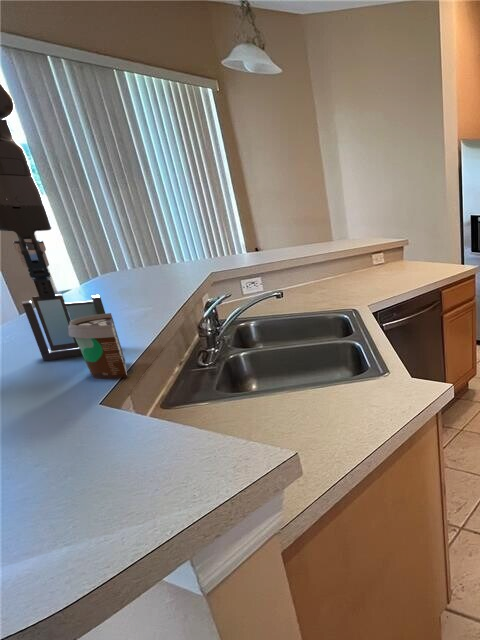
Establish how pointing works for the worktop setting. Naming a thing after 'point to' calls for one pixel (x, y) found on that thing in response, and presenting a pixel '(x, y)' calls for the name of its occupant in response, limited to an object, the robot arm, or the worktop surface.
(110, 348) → the food container
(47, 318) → the sash
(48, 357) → the window frame
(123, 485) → the worktop surface
